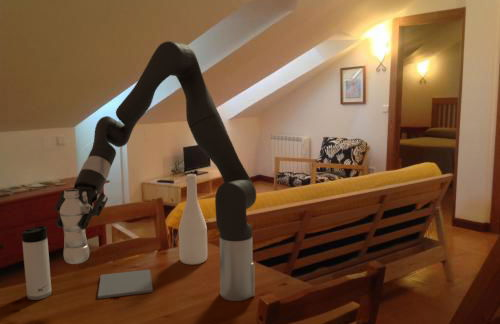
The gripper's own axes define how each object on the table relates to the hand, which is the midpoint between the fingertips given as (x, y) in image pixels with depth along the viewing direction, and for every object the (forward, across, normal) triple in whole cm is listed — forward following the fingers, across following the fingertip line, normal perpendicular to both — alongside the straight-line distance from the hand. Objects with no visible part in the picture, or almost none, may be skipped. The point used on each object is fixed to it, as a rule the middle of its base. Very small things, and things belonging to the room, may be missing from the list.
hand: (70, 227), depth 114 cm
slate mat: (+5, +7, +26) cm, 27 cm away
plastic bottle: (+6, 0, +9) cm, 11 cm away
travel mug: (+14, -13, +17) cm, 26 cm away
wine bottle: (-11, +19, +42) cm, 47 cm away
